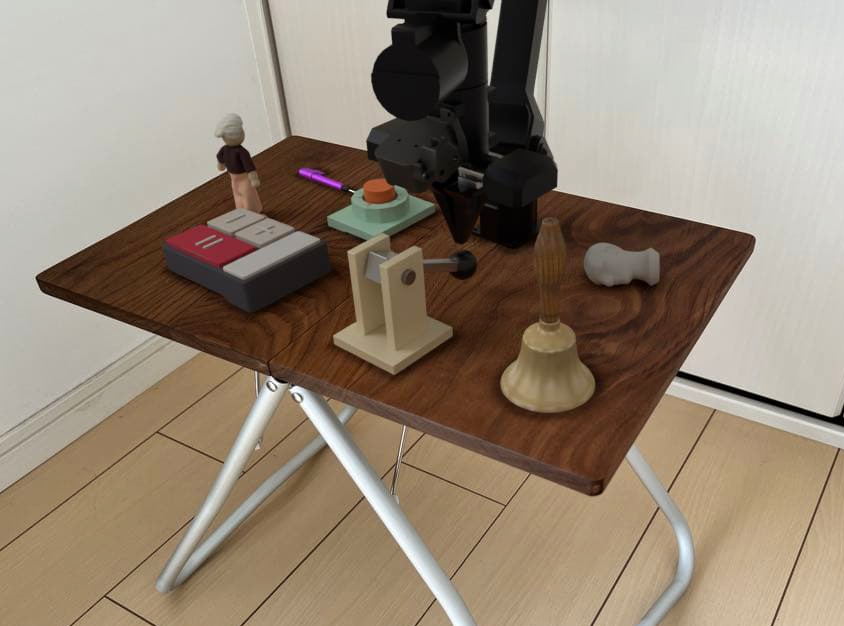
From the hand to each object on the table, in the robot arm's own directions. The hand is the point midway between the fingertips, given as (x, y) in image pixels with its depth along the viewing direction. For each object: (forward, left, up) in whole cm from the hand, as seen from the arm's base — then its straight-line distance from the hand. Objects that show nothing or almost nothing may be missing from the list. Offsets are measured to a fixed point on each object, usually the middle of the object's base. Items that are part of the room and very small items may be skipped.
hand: (461, 242), depth 85 cm
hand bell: (+7, +15, -6) cm, 18 cm away
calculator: (+10, -22, -6) cm, 25 cm away
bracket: (+10, 0, -6) cm, 12 cm away
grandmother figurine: (+2, -32, -6) cm, 33 cm away
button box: (-7, -19, -6) cm, 21 cm away
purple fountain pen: (-11, -29, -7) cm, 32 cm away
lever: (+6, 0, -2) cm, 6 cm away
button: (-7, -19, -4) cm, 21 cm away
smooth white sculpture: (-12, +11, -6) cm, 17 cm away
